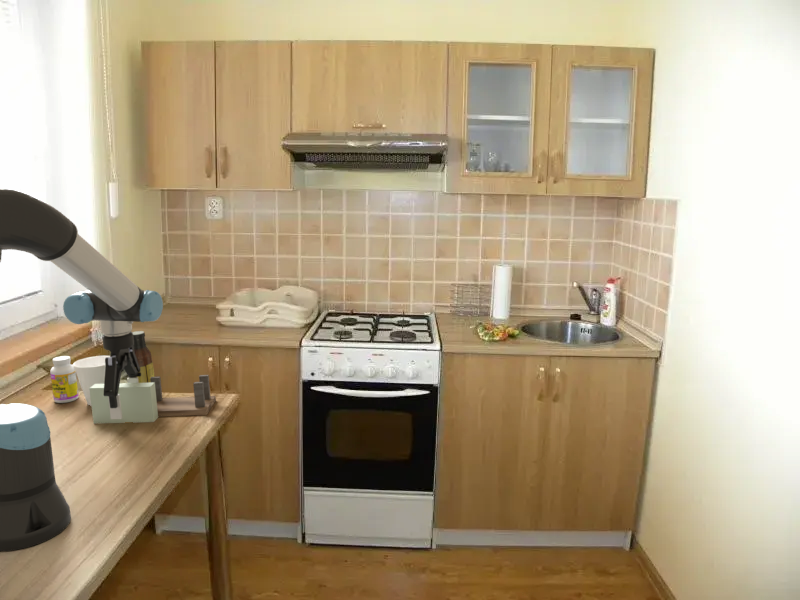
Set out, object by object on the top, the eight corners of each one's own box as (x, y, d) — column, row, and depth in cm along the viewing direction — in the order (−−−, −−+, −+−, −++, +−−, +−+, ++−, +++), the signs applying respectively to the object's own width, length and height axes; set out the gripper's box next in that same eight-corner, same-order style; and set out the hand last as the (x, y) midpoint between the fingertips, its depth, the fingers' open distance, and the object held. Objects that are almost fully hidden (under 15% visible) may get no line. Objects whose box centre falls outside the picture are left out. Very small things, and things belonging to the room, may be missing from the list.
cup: (112, 392, 199) (107, 353, 197) (129, 401, 191) (124, 360, 189) (71, 402, 191) (66, 362, 189) (87, 412, 183) (82, 370, 180)
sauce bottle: (152, 391, 199) (146, 328, 195) (160, 397, 194) (153, 332, 190) (130, 396, 195) (123, 332, 191) (137, 402, 190) (130, 336, 186)
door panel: (153, 422, 175) (150, 386, 173) (93, 423, 175) (89, 388, 173) (158, 417, 179) (154, 382, 177) (99, 418, 178) (95, 383, 176)
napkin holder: (206, 414, 179) (204, 385, 178) (140, 417, 179) (136, 387, 177) (215, 400, 190) (213, 372, 188) (153, 402, 189) (150, 374, 188)
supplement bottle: (48, 402, 192) (43, 360, 189) (66, 395, 198) (61, 354, 195) (66, 404, 189) (61, 362, 187) (84, 397, 196) (79, 355, 193)
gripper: (113, 345, 160) (123, 426, 165) (147, 321, 185) (155, 392, 189) (82, 346, 160) (93, 427, 164) (120, 322, 184) (128, 393, 189)
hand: (126, 409), depth 177 cm, fingers open, 13 cm apart
